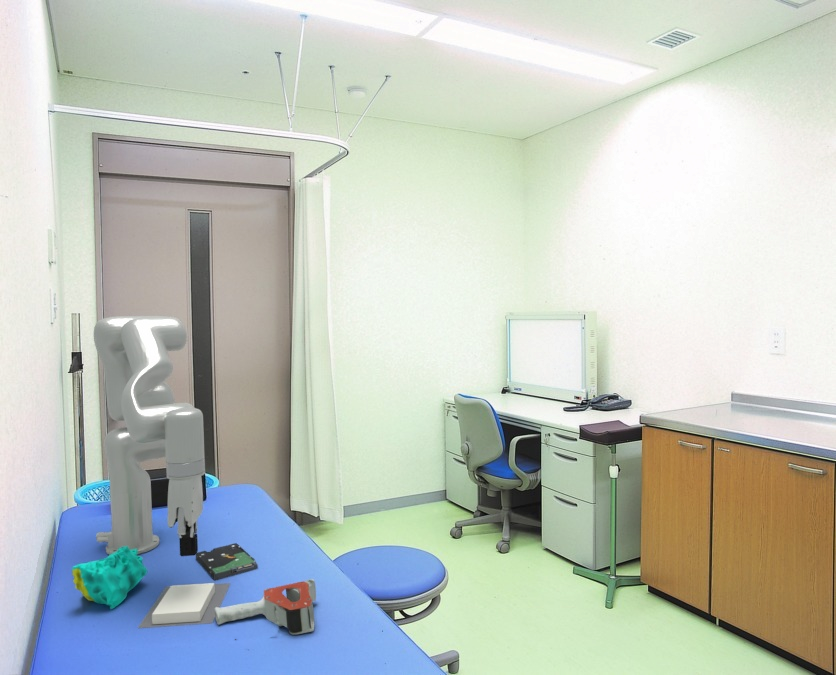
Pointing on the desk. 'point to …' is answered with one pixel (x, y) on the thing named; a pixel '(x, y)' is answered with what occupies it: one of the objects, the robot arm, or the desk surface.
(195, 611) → the tile
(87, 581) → the teal sponge
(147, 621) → the mat
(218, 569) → the disk drive
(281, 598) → the tape dispenser
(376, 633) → the desk surface
